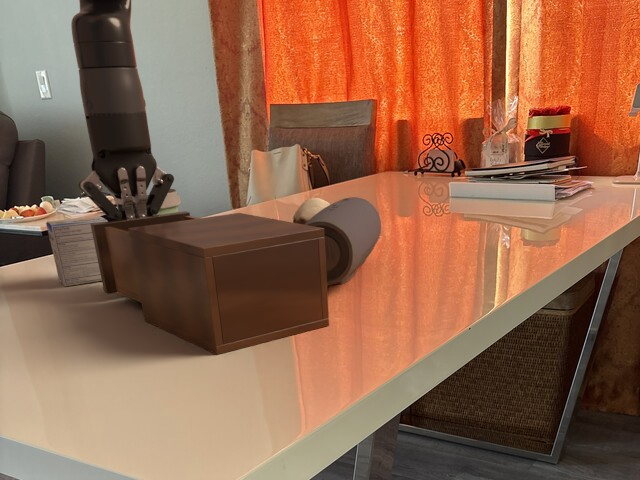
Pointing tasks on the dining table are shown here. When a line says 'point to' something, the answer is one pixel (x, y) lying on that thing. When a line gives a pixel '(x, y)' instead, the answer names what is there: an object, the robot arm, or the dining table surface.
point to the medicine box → (75, 250)
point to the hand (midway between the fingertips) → (139, 249)
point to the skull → (309, 210)
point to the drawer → (123, 251)
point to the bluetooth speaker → (347, 236)
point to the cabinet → (231, 279)
